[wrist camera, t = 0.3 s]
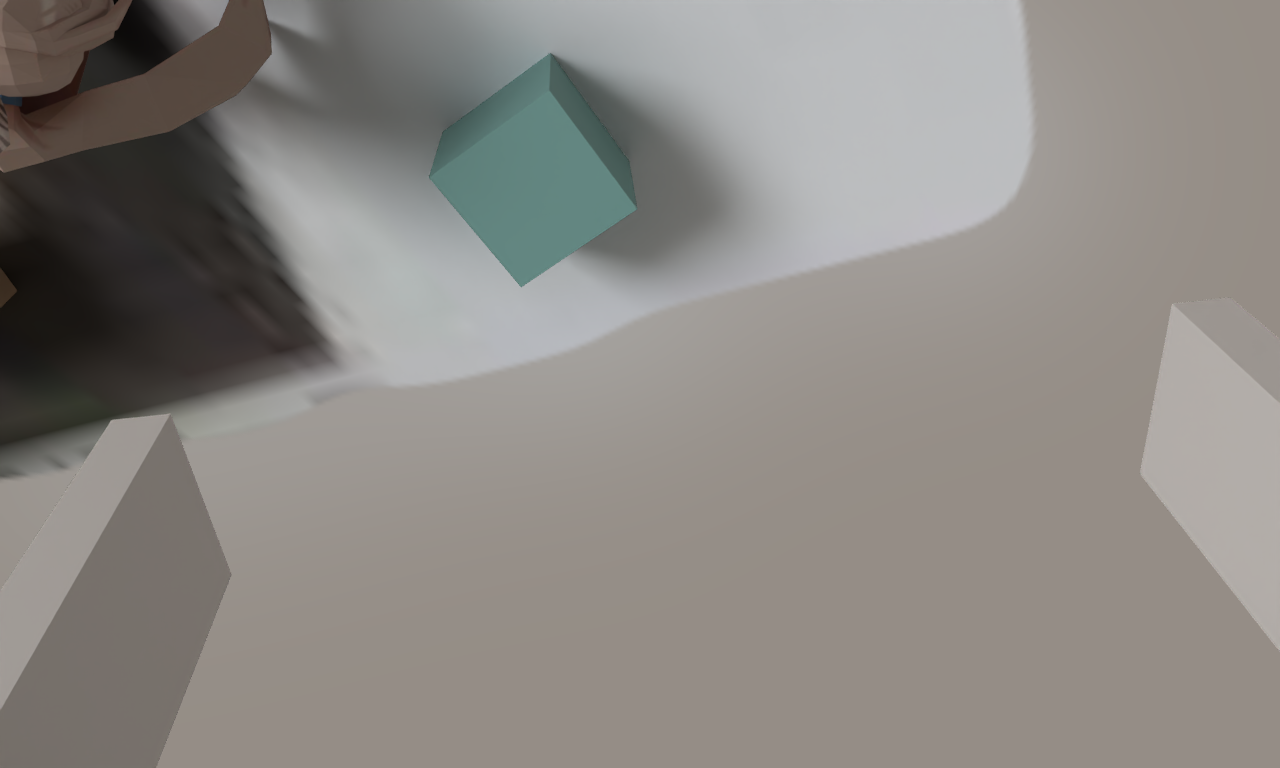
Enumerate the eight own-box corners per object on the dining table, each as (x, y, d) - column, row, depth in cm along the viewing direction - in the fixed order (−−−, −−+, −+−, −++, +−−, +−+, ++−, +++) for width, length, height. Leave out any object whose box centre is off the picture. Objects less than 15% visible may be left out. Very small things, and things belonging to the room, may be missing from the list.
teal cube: (443, 131, 40) (428, 177, 36) (550, 52, 39) (549, 90, 35) (525, 232, 42) (521, 287, 38) (629, 160, 41) (637, 209, 37)
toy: (291, -207, 34) (142, 46, 23) (299, 37, 40) (184, 321, 30) (-19, -272, 32) (-319, -33, 22) (39, -9, 38) (-174, 272, 28)
